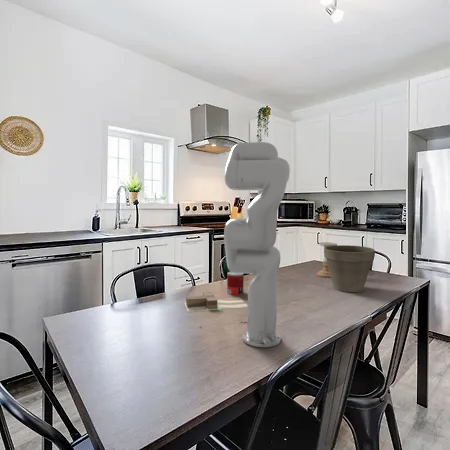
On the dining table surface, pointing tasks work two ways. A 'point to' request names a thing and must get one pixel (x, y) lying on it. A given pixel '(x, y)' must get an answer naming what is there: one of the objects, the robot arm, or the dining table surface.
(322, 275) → the candle holder
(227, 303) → the board
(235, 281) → the canned food
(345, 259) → the plant pot
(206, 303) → the t block
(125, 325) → the dining table surface
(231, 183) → the robot arm
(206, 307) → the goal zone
